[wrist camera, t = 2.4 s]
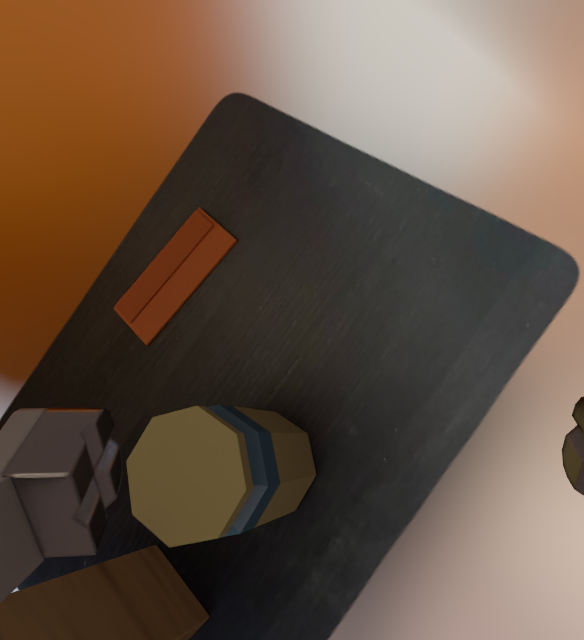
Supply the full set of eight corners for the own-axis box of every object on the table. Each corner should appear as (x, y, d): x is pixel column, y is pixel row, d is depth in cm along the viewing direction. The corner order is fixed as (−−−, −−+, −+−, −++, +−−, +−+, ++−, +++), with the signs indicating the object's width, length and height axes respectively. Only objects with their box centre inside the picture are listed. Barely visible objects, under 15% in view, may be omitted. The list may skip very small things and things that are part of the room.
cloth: (200, 208, 55) (197, 205, 54) (237, 241, 52) (234, 238, 52) (115, 309, 55) (110, 307, 55) (148, 345, 53) (143, 344, 52)
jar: (205, 450, 49) (99, 455, 35) (282, 391, 47) (203, 372, 34) (256, 539, 45) (162, 584, 32) (340, 478, 44) (279, 497, 30)
